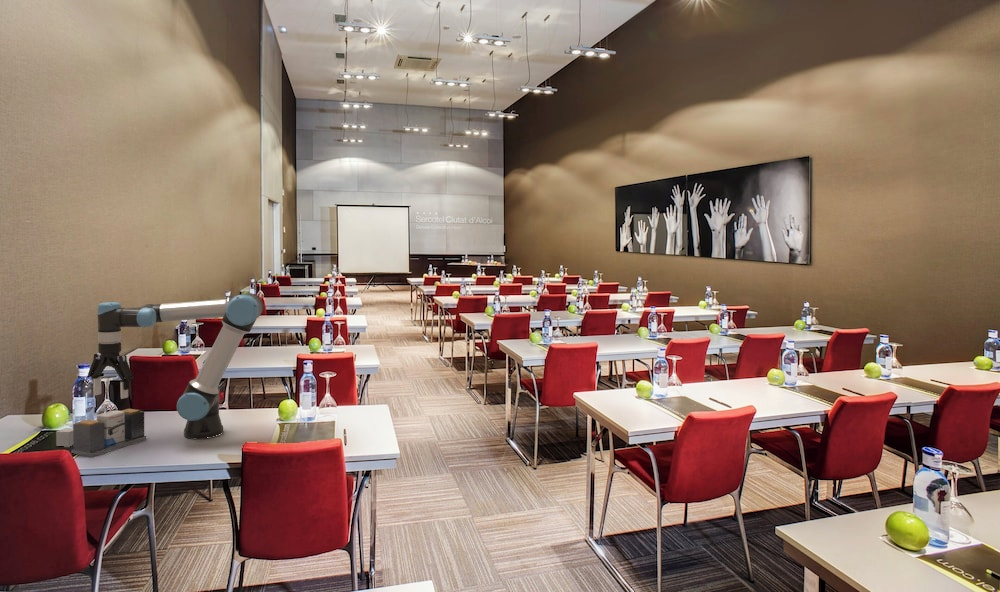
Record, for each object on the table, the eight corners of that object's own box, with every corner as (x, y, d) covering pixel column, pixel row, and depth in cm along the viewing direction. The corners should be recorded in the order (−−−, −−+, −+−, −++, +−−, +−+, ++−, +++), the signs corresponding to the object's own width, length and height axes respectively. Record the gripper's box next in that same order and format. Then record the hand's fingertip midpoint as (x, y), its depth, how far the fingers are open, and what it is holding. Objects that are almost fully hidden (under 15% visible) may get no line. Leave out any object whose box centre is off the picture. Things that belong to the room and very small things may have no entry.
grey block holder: (146, 439, 251) (146, 410, 250) (91, 457, 228) (91, 425, 227) (127, 436, 254) (127, 407, 253) (71, 453, 231) (71, 422, 230)
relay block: (78, 443, 243) (78, 428, 243) (69, 447, 238) (68, 432, 238) (65, 442, 244) (65, 427, 243) (56, 446, 239) (56, 431, 238)
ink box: (106, 446, 236) (106, 416, 235) (96, 445, 238) (96, 415, 237) (125, 440, 244) (125, 411, 244) (115, 438, 246) (115, 409, 245)
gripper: (143, 343, 238) (144, 397, 240) (94, 338, 246) (95, 391, 247) (126, 345, 231) (127, 401, 233) (76, 341, 238) (77, 395, 240)
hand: (110, 396), depth 240 cm, fingers open, 13 cm apart
